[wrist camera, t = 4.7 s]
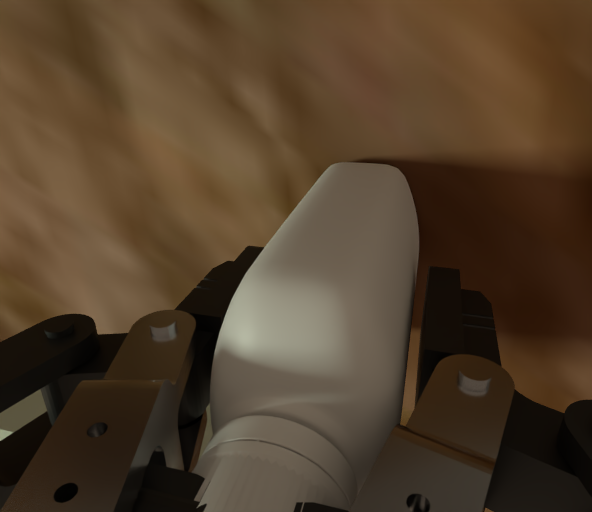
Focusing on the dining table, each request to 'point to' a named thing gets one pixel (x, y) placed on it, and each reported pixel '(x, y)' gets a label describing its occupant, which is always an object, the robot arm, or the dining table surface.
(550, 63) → the dining table surface
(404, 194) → the eye dropper bottle
